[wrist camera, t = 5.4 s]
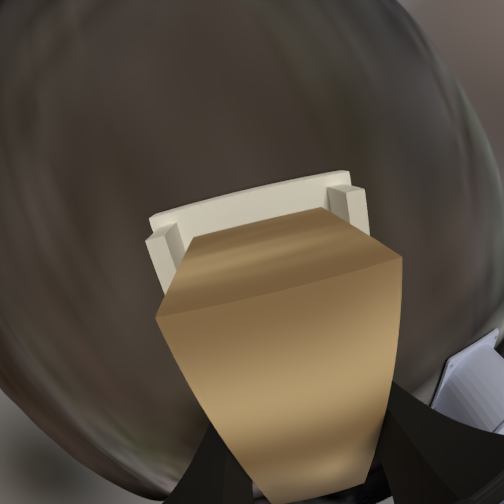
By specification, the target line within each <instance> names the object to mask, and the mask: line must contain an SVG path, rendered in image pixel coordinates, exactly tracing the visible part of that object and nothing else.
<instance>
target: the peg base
mask: <svg viewBox="0 0 504 504" xmlns="http://www.w3.org/2000/svg"><path fill="white" fill-rule="evenodd" d="M319 207H323V208H324V209H326V210H328V211H329V212H331V213H333V214H335V215H336V216H338V217H340V218H341V219H343V220H345V221H346V222H348V223H350V224H351V225H353V226H355V227H356V228H358V229H359V230H361V231H363V232H364V233H366V234H367V235H369V236H370V234H369V223H368V213H367V205H366V197H365V189H362V188H359V187H355V186H351V181H350V175H349V171H343V170H340V171H334V172H328V173H323V174H318V175H312V176H307V177H302V178H297V179H292V180H287V181H283V182H278V183H273V184H269V185H264V186H260V187H256V188H251V189H247V190H243V191H239V192H235V193H231V194H227V195H223V196H219V197H215V198H211V199H207V200H203V201H200V202H196V203H192V204H189V205H185V206H181V207H178V208H174V209H171V210H167V211H164V212H161V213H157V214H155V215H153V216H152V217H150V218H149V220H150V224H151V227H152V230H153V234H152V235H151V236H150V237H149V238H148V239H147V240H146V241H145V242H146V245H147V247H148V250H149V253H150V256H151V259H152V262H153V264H154V267H155V270H156V273H157V275H158V278H159V281H160V283H161V286H162V288H163V291H164V294H165V295H166V292H167V290H168V288H169V286H170V284H171V282H172V280H173V277H174V275H175V273H176V271H177V269H178V267H179V265H180V263H181V261H182V259H183V257H184V255H185V253H186V251H187V249H188V247H189V245H190V243H191V241H192V239H193V237H196V236H200V235H204V234H208V233H212V232H216V231H220V230H224V229H228V228H232V227H236V226H240V225H244V224H249V223H253V222H257V221H261V220H265V219H270V218H274V217H278V216H283V215H287V214H292V213H296V212H300V211H305V210H309V209H314V208H319Z"/></svg>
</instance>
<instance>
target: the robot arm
mask: <svg viewBox="0 0 504 504" xmlns="http://www.w3.org/2000/svg"><path fill="white" fill-rule="evenodd" d="M498 334H499V329H497V328H496V329H495V330H493V331H492V332H490V333H489V334H487V335H486V336H484V337H483V338H481V339H480V340H478V341H477V342H475V343H474V344H472V345H470V346H469V347H467V348H466V349H464V350H462V351H461V352H459V353H457V354H456V355H454V356H452V357H450V358H449V359H448V360H447V362H446V366H445V369H444V372H443V375H442V378H441V381H440V384H439V386H438V389H437V392H436V395H435V397H434V400H433V402H432V405H431V407H429V406H427V405H426V404H424V403H423V402H421V401H420V400H418V399H416V398H415V397H414V396H412V395H411V394H409V393H408V392H407V391H405V390H404V389H403V388H401V387H400V386H399V385H397V384H396V383H395V382H394V381H392V383H391V388H390V393H389V398H388V403H387V408H386V412H385V416H384V420H383V424H382V428H381V432H380V436H379V439H378V443H377V446H376V449H375V450H376V452H377V454H378V456H379V458H380V460H381V463H382V465H383V468H384V471H385V474H386V477H387V480H388V483H389V486H390V490H391V493H392V496H393V500H394V504H504V359H503V358H502V357H501V356H500V355H499V354H498V353H497V352H496V351H495V350H494V349H493V348H494V345H495V342H496V340H497V337H498ZM162 504H254V502H253V490H252V479H251V478H250V477H249V475H248V474H247V473H246V471H245V470H244V469H243V467H242V466H241V465H240V463H239V462H238V461H237V459H236V458H235V456H234V455H233V454H232V452H231V451H230V449H229V448H228V446H227V445H226V444H225V442H224V441H223V439H222V438H221V436H220V435H219V433H218V432H217V430H216V429H215V427H214V425H213V424H212V422H211V421H210V423H209V426H208V428H207V431H206V433H205V435H204V437H203V440H202V442H201V444H200V446H199V448H198V450H197V452H196V454H195V456H194V458H193V460H192V462H191V464H190V465H189V467H188V469H187V470H186V472H185V474H184V475H183V477H182V478H181V480H180V481H179V483H178V484H177V486H176V487H175V488H174V490H173V491H172V492H171V494H170V495H169V496H168V497H167V499H166V500H165V501H164V502H163V503H162Z"/></svg>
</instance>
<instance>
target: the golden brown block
mask: <svg viewBox="0 0 504 504" xmlns="http://www.w3.org/2000/svg"><path fill="white" fill-rule="evenodd" d="M401 293H402V257H401V256H400V255H398V254H397V253H395V252H394V251H392V250H391V249H389V248H388V247H386V246H385V245H383V244H382V243H380V242H378V241H377V240H375V239H374V238H372V237H371V236H369V235H367V234H366V233H364V232H363V231H361V230H359V229H358V228H356V227H355V226H353V225H351V224H350V223H348V222H346V221H345V220H343V219H341V218H340V217H338V216H336V215H335V214H333V213H331V212H329V211H328V210H326V209H324V208H323V207H319V208H314V209H309V210H305V211H300V212H296V213H292V214H287V215H283V216H278V217H274V218H270V219H265V220H261V221H257V222H253V223H249V224H244V225H240V226H236V227H232V228H228V229H224V230H220V231H216V232H212V233H208V234H204V235H200V236H196V237H193V239H192V241H191V243H190V245H189V247H188V249H187V251H186V253H185V255H184V257H183V259H182V261H181V263H180V265H179V267H178V269H177V271H176V273H175V275H174V277H173V280H172V282H171V284H170V286H169V288H168V290H167V292H166V295H165V297H164V299H163V301H162V303H161V305H160V308H159V310H158V312H157V314H156V317H155V319H156V321H157V323H158V325H159V327H160V329H161V332H162V334H163V336H164V338H165V340H166V342H167V344H168V346H169V348H170V350H171V352H172V354H173V356H174V358H175V360H176V362H177V364H178V365H179V367H180V369H181V371H182V373H183V375H184V377H185V378H186V380H187V382H188V384H189V386H190V387H191V389H192V391H193V393H194V394H195V396H196V398H197V399H198V401H199V403H200V405H201V406H202V408H203V409H204V411H205V413H206V414H207V416H208V418H209V419H210V421H211V422H212V424H213V425H214V427H215V429H216V430H217V432H218V433H219V435H220V436H221V438H222V439H223V441H224V442H225V444H226V445H227V446H228V448H229V449H230V451H231V452H232V454H233V455H234V456H235V458H236V459H237V461H238V462H239V463H240V465H241V466H242V467H243V469H244V470H245V471H246V473H247V474H248V475H249V477H250V478H251V479H252V480H253V482H254V483H255V484H256V485H257V487H258V488H259V489H260V490H261V492H262V493H263V494H264V495H265V496H266V498H267V499H268V500H269V501H270V502H271V503H272V504H285V503H291V502H296V501H301V500H306V499H310V498H315V497H319V496H323V495H327V494H330V493H334V492H337V491H341V490H344V489H347V488H350V487H353V486H356V485H359V484H362V483H364V482H365V479H366V476H367V474H368V471H369V468H370V465H371V462H372V459H373V456H374V453H375V449H376V446H377V443H378V439H379V436H380V432H381V428H382V424H383V420H384V416H385V412H386V408H387V403H388V398H389V393H390V388H391V383H392V377H393V371H394V365H395V358H396V351H397V343H398V334H399V323H400V311H401Z"/></svg>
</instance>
